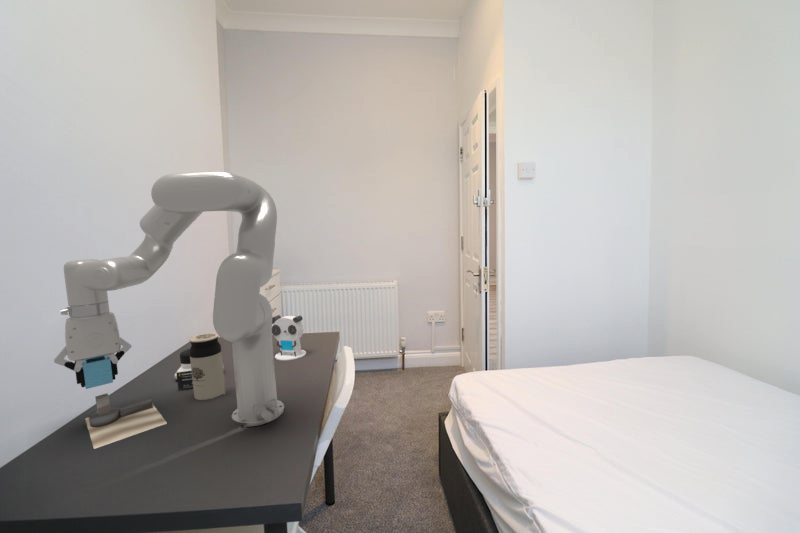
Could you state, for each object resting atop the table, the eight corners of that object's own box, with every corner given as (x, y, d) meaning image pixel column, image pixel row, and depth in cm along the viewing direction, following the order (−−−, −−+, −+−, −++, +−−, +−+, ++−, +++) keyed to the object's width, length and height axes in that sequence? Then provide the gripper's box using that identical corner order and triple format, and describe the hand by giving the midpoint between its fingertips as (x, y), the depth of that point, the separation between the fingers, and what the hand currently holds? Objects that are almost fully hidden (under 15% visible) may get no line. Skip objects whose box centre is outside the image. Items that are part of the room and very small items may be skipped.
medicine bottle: (178, 394, 110) (174, 355, 109) (185, 385, 117) (181, 348, 116) (205, 390, 112) (200, 352, 111) (210, 381, 119) (206, 345, 118)
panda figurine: (267, 359, 137) (263, 319, 136) (285, 349, 148) (282, 312, 147) (295, 361, 134) (292, 320, 132) (311, 350, 145) (308, 313, 143)
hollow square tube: (113, 382, 93) (110, 359, 92) (85, 389, 89) (82, 364, 88) (110, 376, 96) (107, 354, 96) (83, 383, 93) (80, 359, 92)
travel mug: (215, 389, 113) (209, 331, 111) (231, 394, 109) (225, 334, 107) (189, 400, 106) (182, 338, 104) (205, 406, 102) (198, 342, 100)
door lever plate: (167, 427, 91) (164, 397, 90) (94, 454, 82) (89, 420, 81) (149, 403, 106) (146, 376, 105) (85, 422, 96) (81, 394, 95)
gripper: (41, 319, 82) (52, 398, 84) (134, 306, 94) (142, 375, 96) (41, 314, 88) (51, 388, 89) (129, 302, 99) (136, 368, 101)
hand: (98, 381), depth 93 cm, fingers closed on hollow square tube, 5 cm apart
